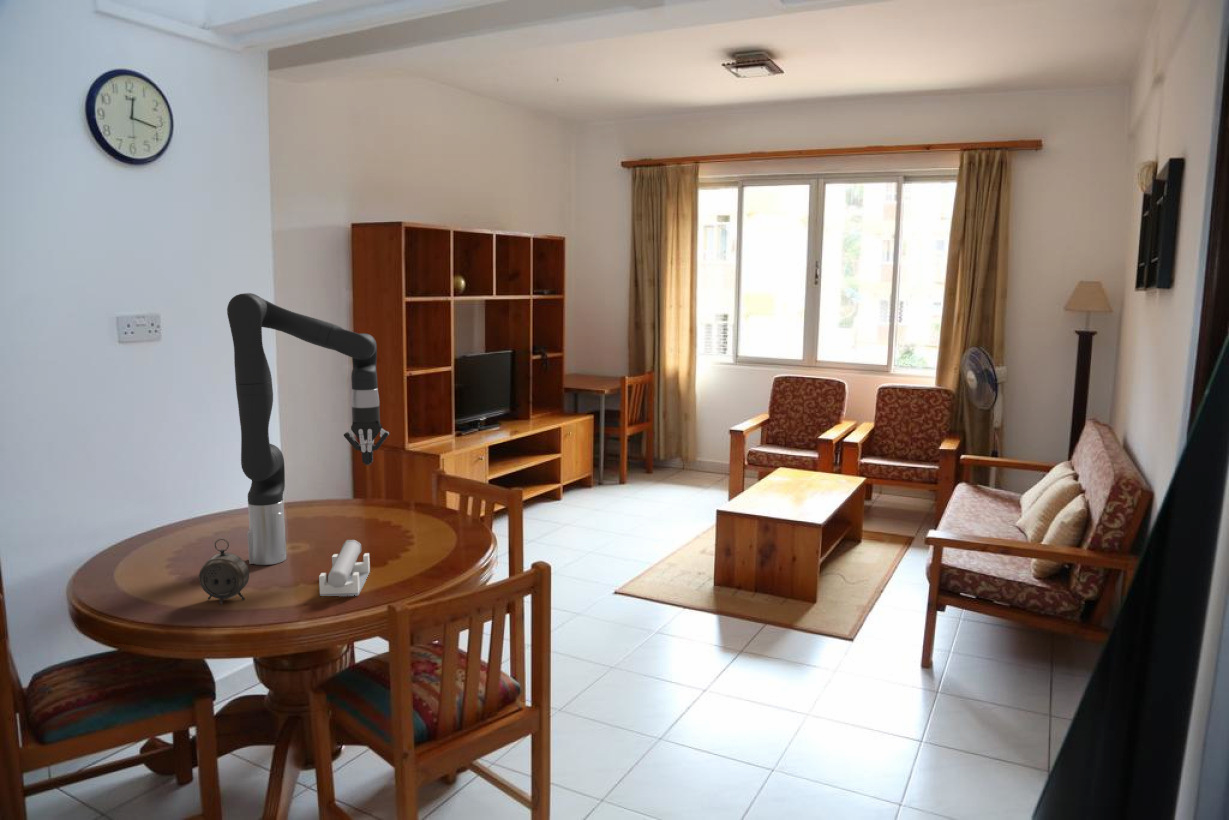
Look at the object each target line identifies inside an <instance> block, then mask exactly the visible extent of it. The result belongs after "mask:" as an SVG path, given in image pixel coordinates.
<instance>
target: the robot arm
mask: <svg viewBox="0 0 1229 820" xmlns="http://www.w3.org/2000/svg"><path fill="white" fill-rule="evenodd" d="M226 311H227V312H226V313H227V315H226V316H227V319H228V323H229V327H230V333H231V338H232V342H233V353H234V354H233V355H234V356H233V358H234V377H235V378H234V379H235V389H236V398H237V407H238V417H239V425H240V434H241V435H240V436H241V437H240V438H241V441H240V442H241V443H240V445H241V446H240V447H241V449H240V450H241V451H240V465H241V469H242V472H243V474H244V475H245V476H246V477H247V478H248V479H249V480H251V483H250V488H249V491H248V492H247V509H248V510H247V511H248V524H249V525H248V526H249V529H248V530H247V534H246V536H247V546H248V547H247V548H248V561H249V562H248V563H249V565H251V564H252V565H253V564H254V565H256V566H257V565H258V566H268V565H269V566H270V565H275V564H280V563H281V562H284V561H286V560H287V545H286V526H285V511H284V507H285V506H284V492H285V489H286V488H285V486H286V481H285V479H286V476H285V475H286V474H285V472H286V471H285V459H284V455H283V452H282V450H281V449H280V448H279V447H278V446H277V445H275V444H272V443H270V436H269V429H270V428H269V426H270V420H271V416H272V411H273V410H272V409H273V405H274V404H273V402H274V389H273V378H272V372H271V369H270V365H269V363H268V359H267V356H266V353H265V349H264V344H263V331H262V330H263V328H266V329H272V330H275V331H278V332H282V333H285V334H287V335H290V336H293V337H294V338H297V339H299V340H301V341H304V342H306V343H308V344H309V343H310V344H312V345H315V346H318V347H322V348H324V349H327V350H333V351H336V352H338V353H340V354H343V355H345V356H346V357H349V358H351V361H352V362H351V363H352V370H351V397H350V398H351V400H350V401H351V417H352V418H351V420H352V421H351V423H352V424H351V426H350V429H349V430H348V431H346V432H345V433H344V434H343V437H344V438H345V440H347V442H348V443H349V444H350V445H351V446H352V447H353V448H354V450H356V451H359V452H361V459H362V460H361V462H362V464H364V466H371V465H372V463H373V462H374V451H377V450H378V449H380V448H381V446H382V445H383V444H384V442H385V441H386V439H387V438H388V436H389V435H390V432H389V431H388V430H386V429H384V428H383V425H382V423H381V416H380V411H381V410H380V404H381V403H380V395H379V387H378V385H379V384H378V372H377V362H378V360H377V359H378V358H377V357H378V349H377V348H378V347H377V346H378V345H377V341H376V339H375V337H374V336H372V335H371V334H368V333H365V332H363V333H362V332H361V333H357V332H355V331H351V330H348V329H345V328H343V327H342V326H340V325H338V324H334V323H332V322H328V321H325V320H322V319H318V318H315V317H312V316H308V315H304V314H301V313H298V312H294V311H291V310H289V309H286V308H283V307H281V306H278V305H276V304H274V303H273V302H270V301H268V300H266V299H264V298H262V297H260V296H258V295H257V294H255V293H252V292H251V293H250V292H247V293H245V292H244V293H239V294H237V295H235V296H233V297H231V299H230V300H229V302H228V303H227V309H226ZM379 433H380V434H379ZM378 435H379V437H380V439H378V441H377V443H376V444H374V443H375V439H376V438H377V436H378ZM354 436H355V437H357V439H358V440H359V442H358V441H357V439H356V438H355V437H354Z"/></svg>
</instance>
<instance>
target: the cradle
mask: <svg viewBox="0 0 1229 820" xmlns="http://www.w3.org/2000/svg"><path fill="white" fill-rule="evenodd" d="M338 555H339V553H333V555H332V556H331V563H332V564H331V565H332V567H333V565H334V563H335V561H336V559H337V557H338ZM362 557H363V558H362V559H363V561H356V562H355V564H354V567H353V569H352V571H351V573H350V576H349V578H348V580H347V582H346V583H345V585H344V586H343V587H336V588H335V587H333V586H331V585H330V584H328V581H327V572H320V575H318V582H319V597H320V596H339V597H358V596H359V595H360V593H361V591H362V590H363V587H364V585H365V584H366V582H367V580H368V578H367V577H369V576H370V574H369V573H371V563H370V561H371V560H370V552H364V553H363V556H362ZM332 567H331V568H332ZM368 575H369V576H368ZM366 579H367V580H366ZM340 595H341V596H340ZM347 595H348V596H347ZM354 595H355V596H354Z"/></svg>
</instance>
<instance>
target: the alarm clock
mask: <svg viewBox="0 0 1229 820" xmlns="http://www.w3.org/2000/svg"><path fill="white" fill-rule="evenodd" d="M219 541H224V542H225V543H226V544H227V547H226V549H223V548H222V549H218V547H217V543H218V542H219ZM229 543H230V542H229V541H228V540H227V539H226V538H218V539H217V540H216V541H215V543H214V548H215V550H216V551H218V552H219V553H216V554H215V555H213V556H211V557H210V558H209V559H208V560H206V562H205V563H204V564H203V565H202V566H201V568H200V570H199V574H198V580H199V584H200V586H201V588H202V590H203V591H204V592H205V593H206V594H207V595H208V597H207V600H208V601H209V600H211V598H215V599H218V600H219V604H220V605H223V601H224V600H228V599H231V598H234V597H235V596H237V595H238V596H239V597H240V598H241V600H243V601H245V599H246V597H244V595H243V594H242V593H241V592H242V591H243V589H245V587H246V586H247V584H248V582H249V579H250V570H249V567H248V565H247V563H246V561H244V560H243V559H242V558H241V557H240V556H239V555H237V554H235V553H231V552H226V551H228V549H229V546H230V544H229Z"/></svg>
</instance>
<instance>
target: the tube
mask: <svg viewBox="0 0 1229 820" xmlns="http://www.w3.org/2000/svg"><path fill="white" fill-rule="evenodd" d="M361 553H362V544H361V543H360V542H359V541H357V540H355V539H346V541H345V542H343V544H342V546H341V550H340V552H339V553H338V557H337V559H336V561H335V563H334V565H333V567H331V569H330V571H329V573H328V575H327V582H328V584H330V585H331V586H333V587H335V588H336V587H343V586H344V585H345V583H346V582H347V580H348V578H349V576H350V573H351V571H352V569H353V567H354V564H355V562H357V560H358V558H359V555H360V554H361Z"/></svg>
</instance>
